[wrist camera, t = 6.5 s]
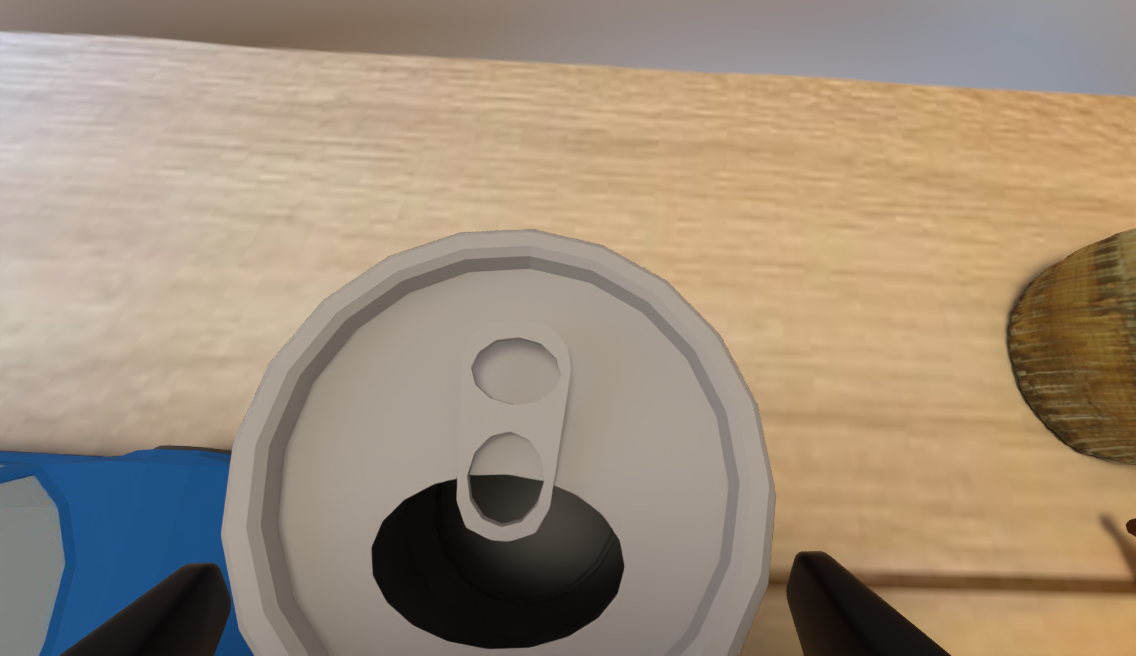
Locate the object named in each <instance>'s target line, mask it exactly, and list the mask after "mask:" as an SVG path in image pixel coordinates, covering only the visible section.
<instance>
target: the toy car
mask: <svg viewBox="0 0 1136 656" xmlns="http://www.w3.org/2000/svg"><path fill="white" fill-rule="evenodd" d="M231 454H232V451H231V450H222V449H212V448H202V447H189V446H159V447H157V448H155V449H152V450H139V451H135V452H132V453H129V454H126V455H123V456H114V457H105V456H86V455H68V454H50V453H32V452H15V451H0V656H59V655H60V654H62V653H63V652H64V651H66V650H67V649H69V648H70V647H71V646H73V645H74V644H75V643H77V642H78V641H80V640H81V639H82V638H84V637H85V636H86V635H88V634H89V633H91V632H92V631H93V630H95V629H96V628H98V627H99V626H100V625H102V624H103V623H104V622H106V621H107V620H109V619H110V618H111V617H113V616H114V615H115V614H117V613H118V612H120V611H121V610H122V609H124V608H125V607H126V606H128V605H129V604H131V603H132V602H133V601H135V600H136V599H138V598H139V597H140V596H142V595H143V594H144V593H146V592H147V591H149V590H150V589H151V588H153V587H154V586H155V585H157V584H158V583H160V582H161V581H162V580H164V579H165V578H166V577H168V576H169V575H171V574H172V573H173V572H175V571H176V570H178V569H179V568H180V567H182V566H184V565H186V564H189V563H215V564H217V565H218V566H219V567H220V569H221V572H222V575H223V577H224V580H225V583H226V586H227V588H228V591H229V594H230V597H231V611H230V615H229V618H228V620H227V623H226V626H225V628H224V631H223V633H222V636H221V639H220V641H219V644H218V646H217V649H216V652H215V654H214V656H254V654H253V652H252V651H251V649H250V647H249V646H248V644H247V642H246V641H245V639H244V637H243V636H242V634H241V632H240V631H239V627H238V622H237V617H236V611H235V606H234V601H233V596H232V591H231V585H230V580H229V575H228V570H227V564H226V559H225V554H224V549H223V544H222V538H221V530H222V523H223V515H224V507H225V500H226V492H227V484H228V477H229V469H230V461H231Z"/></svg>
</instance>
